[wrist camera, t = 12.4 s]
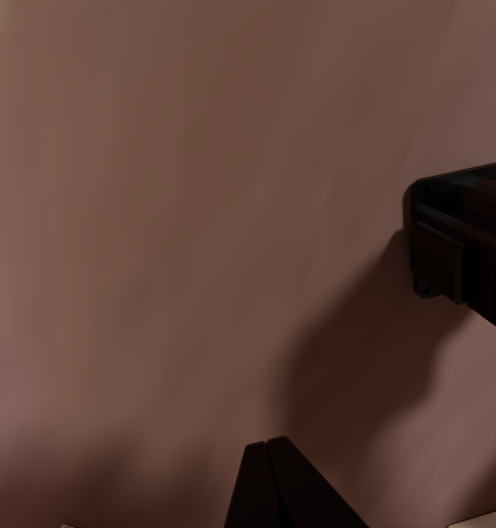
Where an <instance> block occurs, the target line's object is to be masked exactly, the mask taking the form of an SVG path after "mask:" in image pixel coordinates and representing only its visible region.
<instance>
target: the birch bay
mask: <svg viewBox="0 0 496 528" xmlns="http://www.w3.org/2000/svg"><path fill="white" fill-rule="evenodd" d="M60 528H75V527H72V526H68V525H65V524H62V526H61V527H60Z"/></svg>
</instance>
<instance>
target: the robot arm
mask: <svg viewBox="0 0 496 528" xmlns="http://www.w3.org/2000/svg"><path fill="white" fill-rule="evenodd" d="M424 185H425V187H426V188H425V191H424V192H423V193H421V194H420V189H421V187H422V186H424ZM411 207H412V223H411V224H410V226H409V244H410V269H411V270H412V271H413V273H414V291H415V293H416V294H417V295H418V296H419V297H421V298H423V299H424V298H431V297H435V296H439V295H443V294H444V295H445V296H446V297H448V298H449V299H450V300H452V301H453V302H454V303H456V304H457V305H463V304H466V305H467V306H468V307H470V308H471V309H472V310H474V311H475V312H477V313H478V314H479V315H481V316H482V317H483V318H485V319H486V320H488V321H489V322H490V323H492V324H493V325H495V326H496V162H495V163H491V164H486V165H482V166H477V167H472V168H468V169H463V170H459V171H454V172H449V173H445V174H440V175H435V176H431V177H426V178H422V179H419V180H417V181H415V182H414V183H413V185H412V188H411ZM425 286H427V289H426V290H425V291H422V289H423V288H424V287H425ZM266 443H267V445H266ZM266 443H265V442H264V441H260V442H256V443H252V444H248V445H247V446H246V447H245V449H244V453H243V457H242V460H241V464H240V468H239V471H238V475H237V479H236V483H235V486H234V490H233V494H232V498H231V501H230V505H229V509H228V512H227V516H226V520H225V524H224V527H223V528H370V527H369V526H368V525H367V524H366V523H365V522H364V521H363V520H362V519H361V518H360V516H359V515H358V514H357V513H356V512H355V511H354V510H353V509H352V508H351V507H350V505H349V504H348V503H347V502H346V501H345V500H344V499H343V498H342V497H341V496H340V495H339V493H338V492H337V491H336V490H335V489H334V488H333V487H332V486H331V485H330V484H329V482H328V481H327V480H326V479H325V478H324V477H323V476H322V475H321V474H320V473H319V471H318V470H317V469H316V468H315V467H314V466H313V465H312V464H311V463H310V462H309V460H308V459H307V458H306V457H305V456H304V455H303V454H302V453H301V452H300V451H299V450H298V448H297V447H296V446H295V445H294V444H293V443H292V442H291V441H290V440H289V439H288V438H287V437H286V436H280V437H276V438H272V439H269V440H267V442H266ZM267 448H268V449H267ZM269 457H270V458H269ZM285 526H286V527H285Z"/></svg>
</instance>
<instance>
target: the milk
mask: <svg viewBox="0 0 496 528" xmlns="http://www.w3.org/2000/svg"><path fill="white" fill-rule="evenodd" d="M449 528H496V512H492V513H489V514H486V515H483V516H479V517H476V518H473V519H469V520H466V521H463V522H459V523H456V524H453V525H450V526H449Z"/></svg>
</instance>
